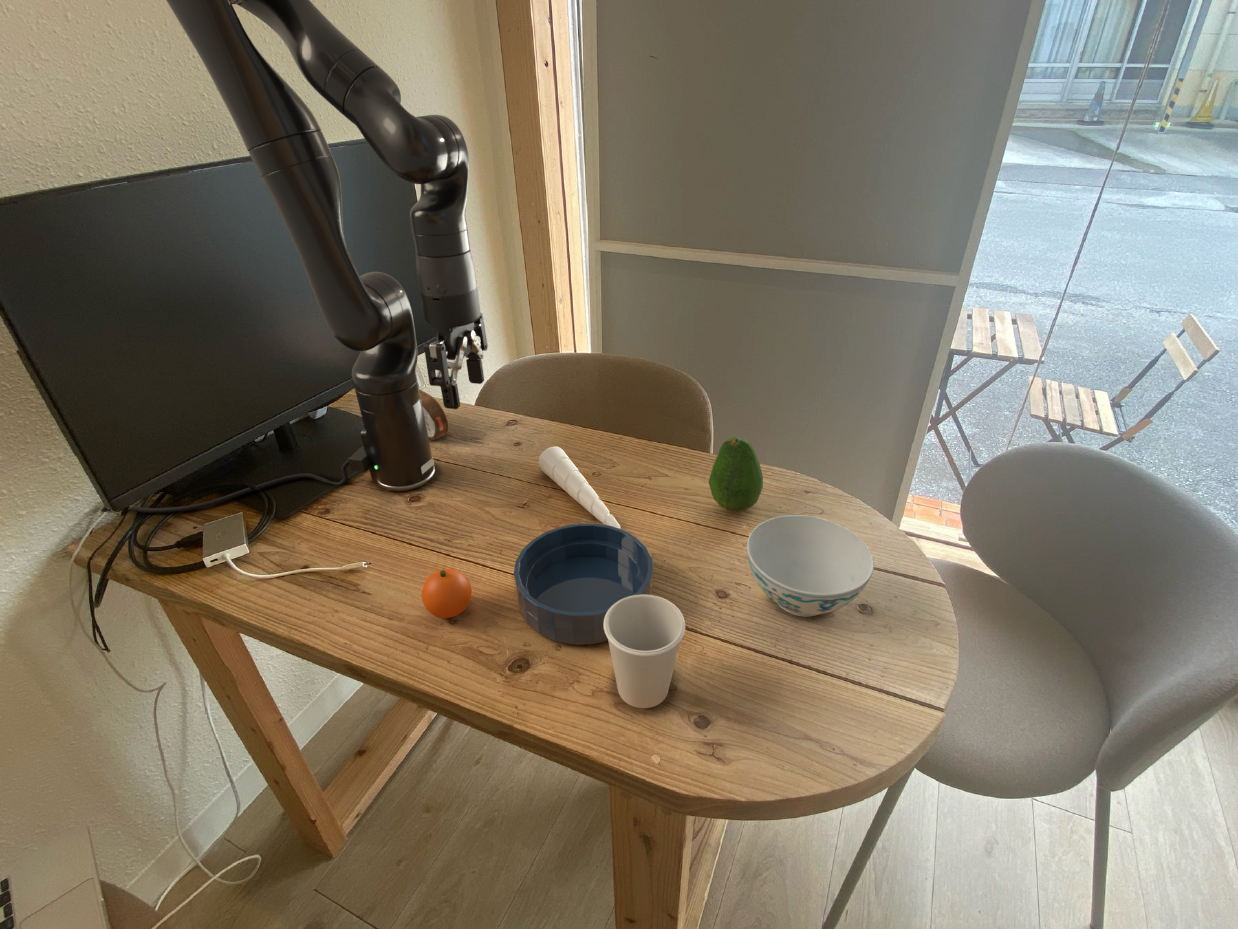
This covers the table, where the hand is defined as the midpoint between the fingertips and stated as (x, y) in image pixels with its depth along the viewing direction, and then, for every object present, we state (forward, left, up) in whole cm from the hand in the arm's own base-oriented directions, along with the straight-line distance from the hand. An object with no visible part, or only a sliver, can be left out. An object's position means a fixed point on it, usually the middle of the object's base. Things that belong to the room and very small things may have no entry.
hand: (465, 394), depth 94 cm
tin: (-19, +16, -17) cm, 30 cm away
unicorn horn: (+17, +1, -17) cm, 25 cm away
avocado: (+40, +4, -17) cm, 44 cm away
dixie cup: (+33, -32, -17) cm, 49 cm away
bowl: (+23, -20, -17) cm, 35 cm away
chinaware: (+50, -14, -17) cm, 55 cm away
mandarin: (+7, -26, -14) cm, 30 cm away
